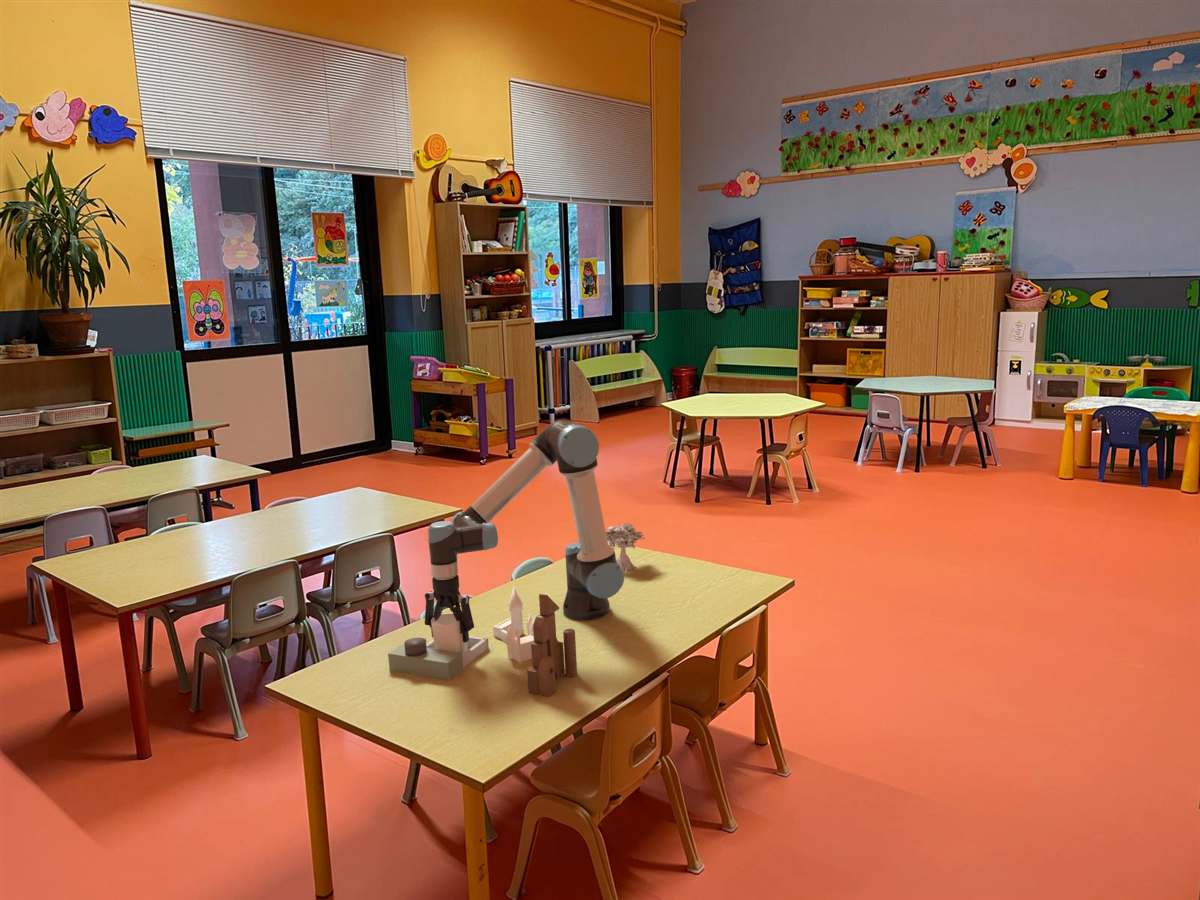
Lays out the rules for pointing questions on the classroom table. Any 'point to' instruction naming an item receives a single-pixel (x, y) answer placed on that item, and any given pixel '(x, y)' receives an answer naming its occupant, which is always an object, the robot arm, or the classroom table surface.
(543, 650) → the wooden toy
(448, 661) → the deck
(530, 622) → the toy castle
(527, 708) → the classroom table surface
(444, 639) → the mug
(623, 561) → the tree
